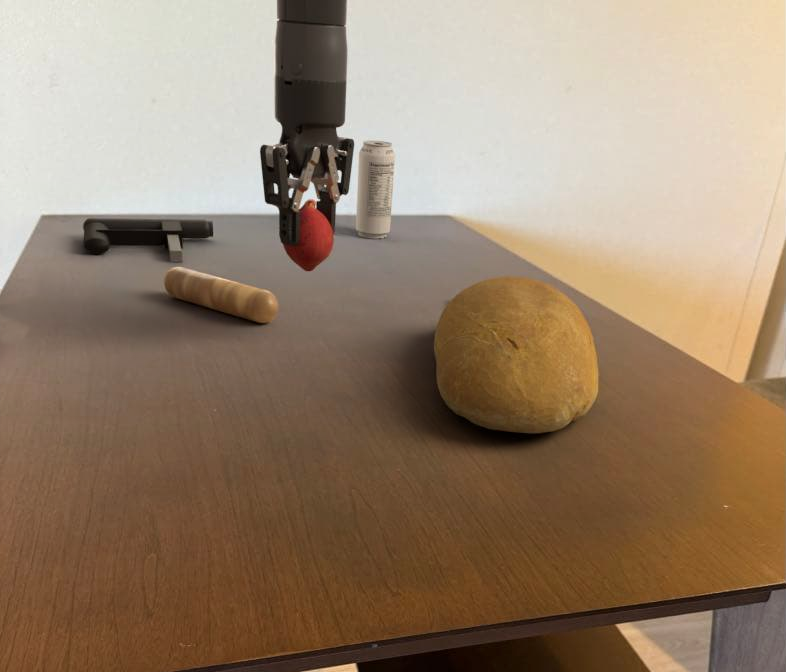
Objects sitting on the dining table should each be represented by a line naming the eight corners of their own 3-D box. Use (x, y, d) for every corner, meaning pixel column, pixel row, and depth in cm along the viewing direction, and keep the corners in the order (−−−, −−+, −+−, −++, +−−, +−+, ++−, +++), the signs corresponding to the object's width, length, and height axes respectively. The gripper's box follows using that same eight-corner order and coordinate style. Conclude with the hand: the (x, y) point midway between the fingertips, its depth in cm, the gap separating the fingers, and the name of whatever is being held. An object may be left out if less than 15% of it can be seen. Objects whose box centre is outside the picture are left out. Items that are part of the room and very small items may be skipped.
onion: (305, 281, 96) (307, 206, 92) (272, 269, 99) (272, 196, 95) (342, 273, 100) (345, 201, 95) (309, 262, 103) (310, 192, 99)
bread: (432, 443, 80) (443, 341, 75) (431, 325, 110) (439, 246, 105) (625, 458, 81) (649, 357, 75) (572, 336, 110) (586, 258, 105)
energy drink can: (381, 230, 154) (386, 140, 146) (394, 239, 149) (401, 145, 141) (350, 231, 151) (354, 139, 143) (363, 239, 147) (367, 145, 139)
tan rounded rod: (158, 297, 112) (156, 267, 110) (180, 291, 115) (178, 261, 113) (264, 329, 104) (264, 297, 102) (285, 322, 107) (285, 290, 105)
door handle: (221, 245, 127) (210, 214, 139) (80, 245, 122) (82, 213, 134) (222, 267, 129) (211, 235, 141) (83, 268, 124) (84, 234, 136)
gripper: (323, 69, 95) (319, 225, 104) (236, 71, 85) (240, 244, 94) (378, 76, 92) (369, 236, 101) (296, 79, 82) (294, 257, 91)
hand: (307, 239), depth 97 cm, fingers closed on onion, 6 cm apart
